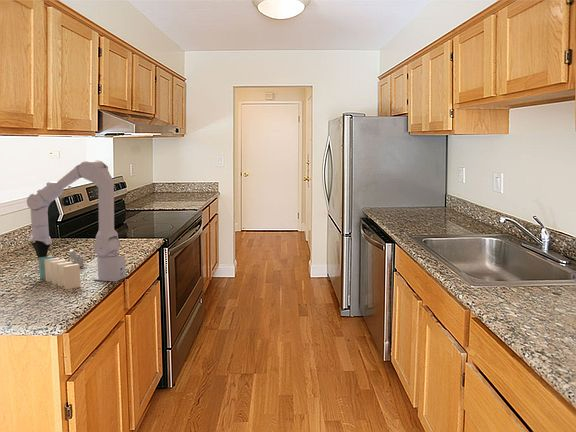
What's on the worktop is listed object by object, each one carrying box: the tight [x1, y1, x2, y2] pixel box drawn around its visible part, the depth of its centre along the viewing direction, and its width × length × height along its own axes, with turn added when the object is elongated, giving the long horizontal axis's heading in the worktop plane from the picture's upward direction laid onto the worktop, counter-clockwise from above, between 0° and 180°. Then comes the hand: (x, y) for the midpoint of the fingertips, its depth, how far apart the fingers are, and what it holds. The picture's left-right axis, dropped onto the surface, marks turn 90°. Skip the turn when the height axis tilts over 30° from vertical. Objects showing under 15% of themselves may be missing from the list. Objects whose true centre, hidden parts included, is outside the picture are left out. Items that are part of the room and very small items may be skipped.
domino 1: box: [45, 257, 61, 283], centre depth 197 cm, size 2×5×8 cm, turn 138°
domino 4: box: [63, 263, 82, 290], centre depth 187 cm, size 2×5×8 cm, turn 138°
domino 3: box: [57, 261, 74, 287], centre depth 191 cm, size 2×5×8 cm, turn 138°
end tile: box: [38, 255, 55, 280], centre depth 201 cm, size 2×5×8 cm, turn 138°
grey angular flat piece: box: [68, 249, 84, 268], centre depth 217 cm, size 7×2×8 cm, turn 169°
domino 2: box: [51, 259, 67, 285], centre depth 194 cm, size 2×5×8 cm, turn 138°
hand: (42, 260), depth 203 cm, fingers closed
